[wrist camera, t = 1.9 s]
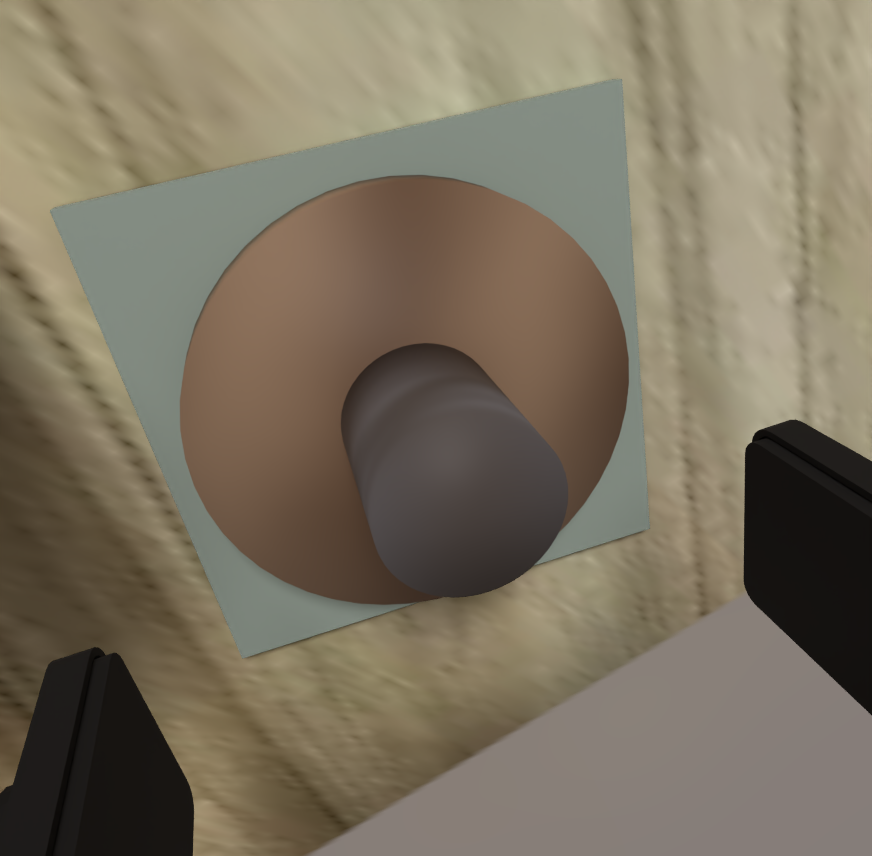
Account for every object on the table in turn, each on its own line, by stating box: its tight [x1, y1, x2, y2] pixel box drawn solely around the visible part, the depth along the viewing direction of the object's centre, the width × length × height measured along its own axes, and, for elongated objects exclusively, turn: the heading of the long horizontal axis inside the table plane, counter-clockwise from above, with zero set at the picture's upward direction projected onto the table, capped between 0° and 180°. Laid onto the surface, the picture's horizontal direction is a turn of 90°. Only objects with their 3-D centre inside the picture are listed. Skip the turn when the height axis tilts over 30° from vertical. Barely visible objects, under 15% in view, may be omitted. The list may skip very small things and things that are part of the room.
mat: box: [50, 79, 650, 659], centre depth 17 cm, size 12×12×1 cm
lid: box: [180, 175, 629, 605], centre depth 15 cm, size 10×10×5 cm
